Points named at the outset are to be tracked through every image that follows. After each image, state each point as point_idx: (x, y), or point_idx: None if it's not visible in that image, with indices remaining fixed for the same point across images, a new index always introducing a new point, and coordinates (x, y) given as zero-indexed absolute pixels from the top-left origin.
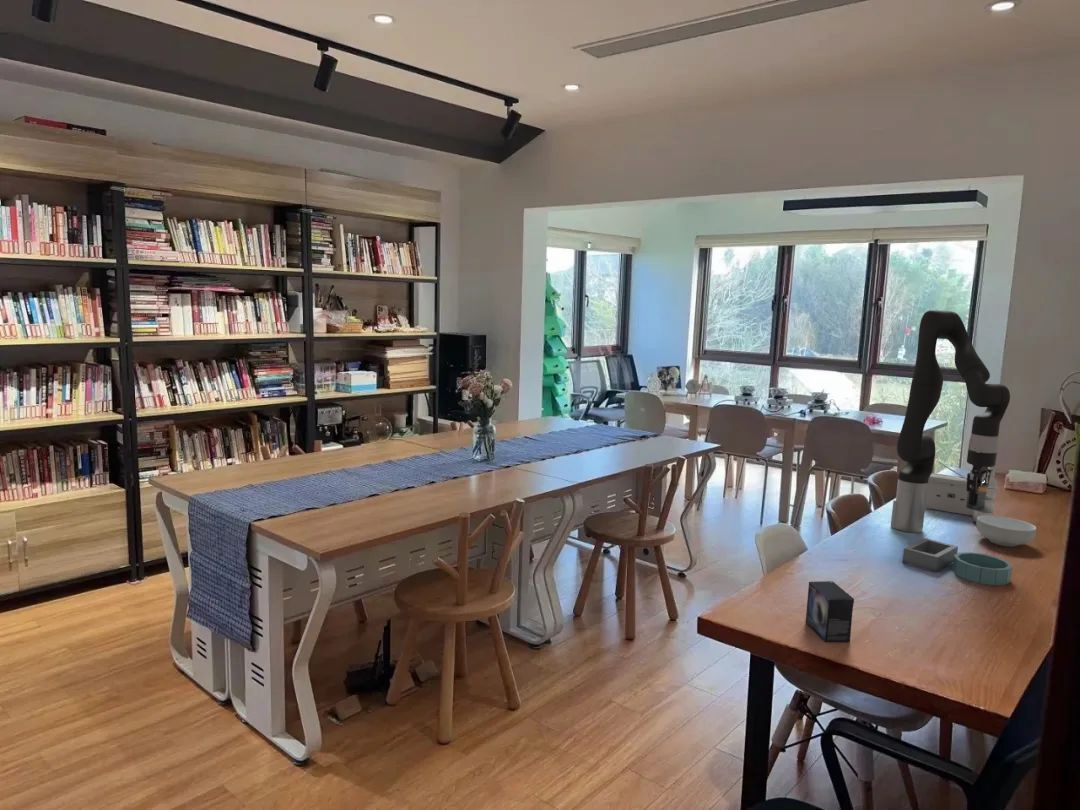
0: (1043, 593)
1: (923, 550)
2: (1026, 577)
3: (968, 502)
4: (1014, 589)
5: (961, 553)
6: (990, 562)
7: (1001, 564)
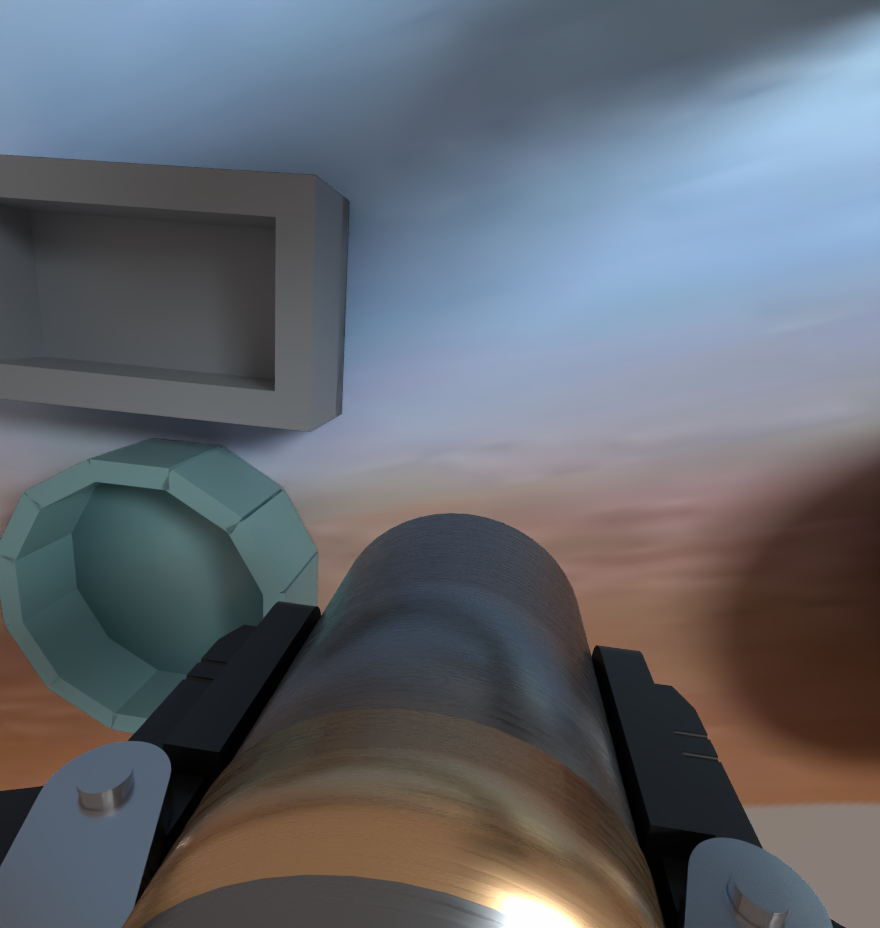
0: None
1: (232, 223)
2: None
3: (269, 614)
4: None
5: (166, 486)
6: None
7: None
